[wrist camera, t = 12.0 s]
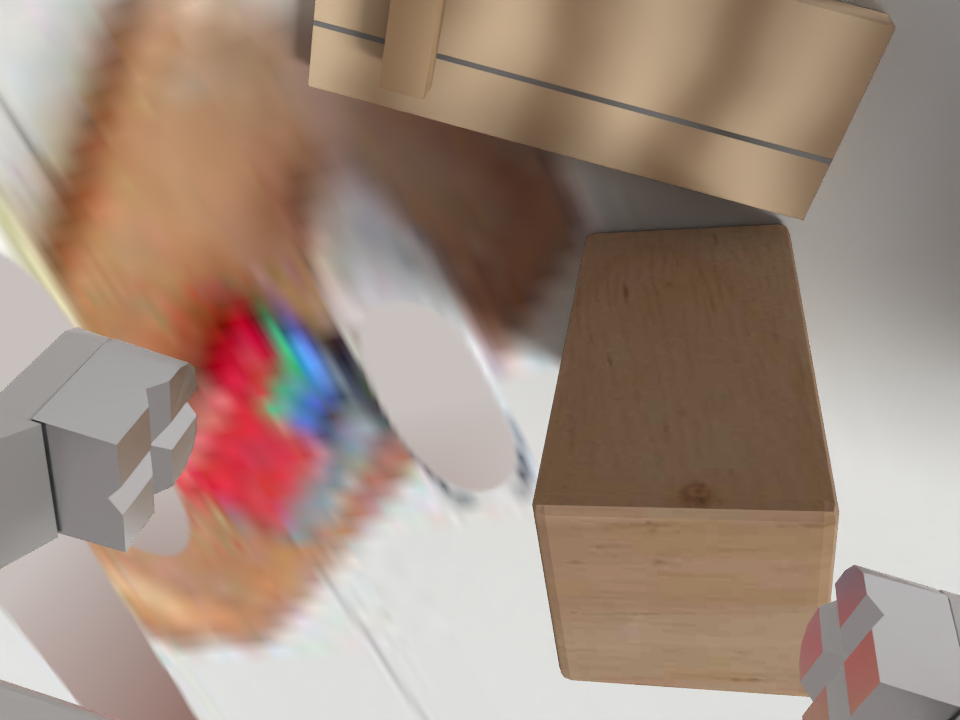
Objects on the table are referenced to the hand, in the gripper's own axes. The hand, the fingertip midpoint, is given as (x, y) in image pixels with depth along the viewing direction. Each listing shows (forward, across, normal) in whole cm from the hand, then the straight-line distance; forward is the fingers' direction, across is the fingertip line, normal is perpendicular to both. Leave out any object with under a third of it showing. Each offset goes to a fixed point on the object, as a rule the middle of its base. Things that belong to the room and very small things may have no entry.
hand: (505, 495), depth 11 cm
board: (+34, +2, +6) cm, 34 cm away
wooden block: (+34, -7, +18) cm, 39 cm away
